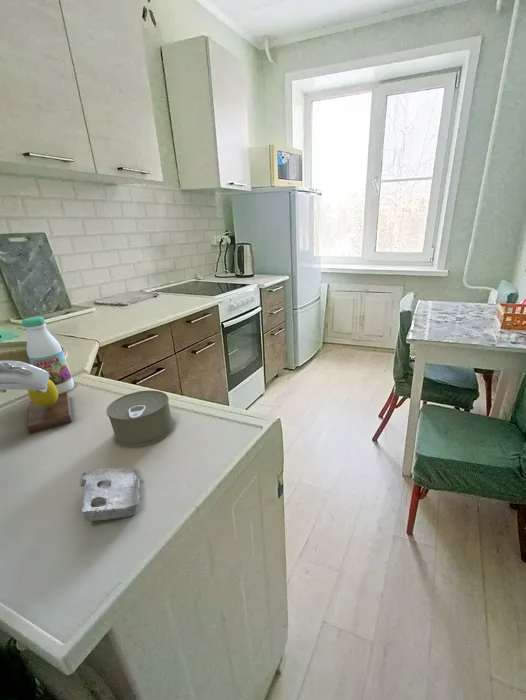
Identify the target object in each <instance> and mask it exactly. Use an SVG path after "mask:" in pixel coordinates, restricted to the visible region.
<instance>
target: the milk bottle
mask: <svg viewBox="0 0 526 700" xmlns="http://www.w3.org/2000/svg"><path fill="white" fill-rule="evenodd" d="M21 323H22V326H23V327H24V330H25V331H26V333H27V334H26V335H27V340H26V354H27V357H28V360H29V362H30V363H29V364H30V365H33V366H35V367H38V368H40V369H43V370H45V371H47V372H48V373H49V380H51V381H52V382H53V383H54V384H55V386H56V388H57V390H58V394H62V393H66V392H67V393H68V391H69V392H70V390H72V389H73V388H75V382H74V379H73V376H72V374H71V373H72V372H71V370H70V367H69V365H68V362H67V360H66V356H65V354H64V351H63V349H62V346H61V345H60V343H59V341H58V340H57V339H56V338H55V337H54V336H53V335H52V334H51V333H50V331H49V330H48V329H47V323H46V321H45V317H43V316H37V315H36V316H31V317H27V318H24V319H22V320H21Z"/></svg>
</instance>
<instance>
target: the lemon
mask: <svg viewBox="0 0 526 700" xmlns="http://www.w3.org/2000/svg"><path fill="white" fill-rule="evenodd" d="M47 386H48V387H47V391H46V392H37V391H34V390H27V393H28V395H29V396H28V397H29V399H30V401H32V402H33V403H34V404H36V405H38V406H40V407H47V408H50V407H51V406H52V405H53V404H54V403H55V402H56V401H57V399H58V390H57V388H56V386H55V384H54V383H53V382H52V381H51V380H49V381H48V384H47Z"/></svg>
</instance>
